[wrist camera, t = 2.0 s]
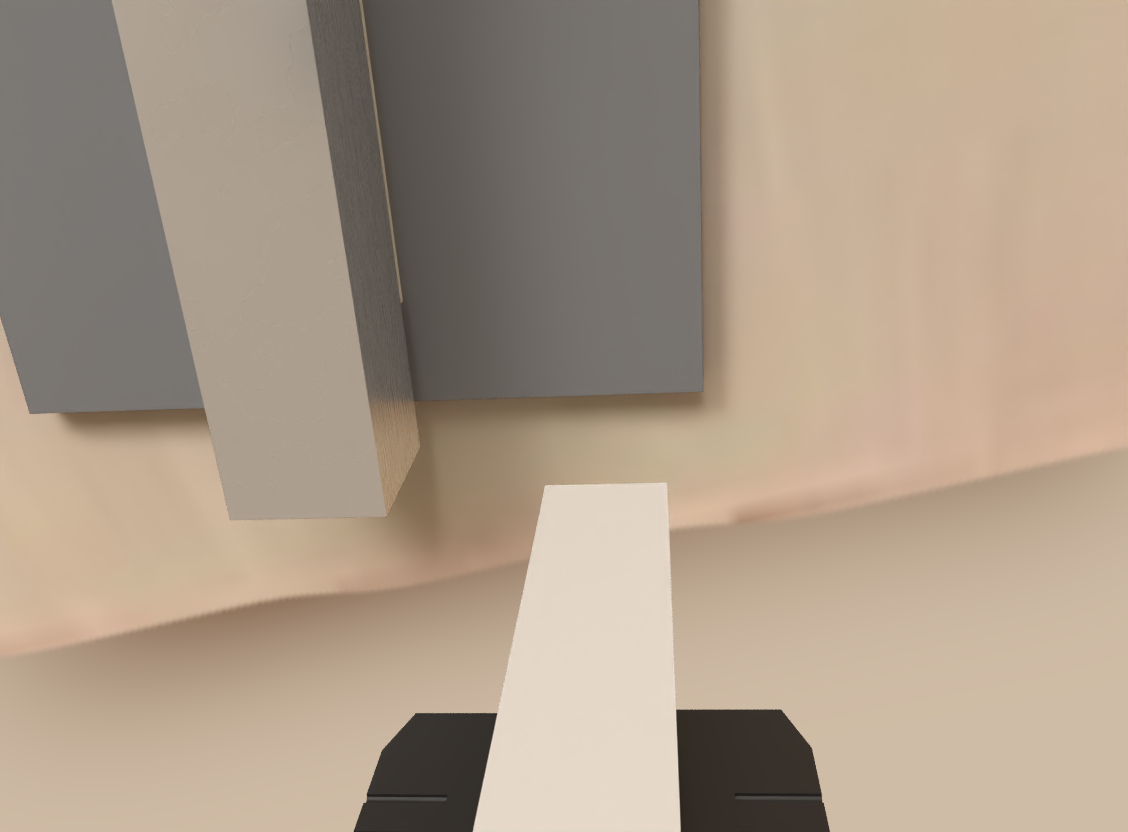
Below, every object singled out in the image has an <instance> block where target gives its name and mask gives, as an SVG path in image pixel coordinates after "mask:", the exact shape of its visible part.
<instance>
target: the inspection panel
mask: <svg viewBox="0 0 1128 832" xmlns="http://www.w3.org/2000/svg"><path fill="white" fill-rule="evenodd" d="M359 2H360V10H361V17H362V24H363V32H364V39H365V46H366V54H367V61H368V68H369V76H370V83H371V90H372V98H373V105H374V112H375V120H376V127H377V134H378V142H379V149H380V156H381V163H382V171H383V178H384V185H385V193H386V200H387V207H388V215H389V222H390V229H391V237H392V244H393V251H394V259H395V266H396V273H397V281H398V288H399V295H400V303H401V310H402V317H403V325H404V332H405V339H406V347H407V354H408V361H409V369H410V376H411V383H412V391H413V398H414V401H436V400H466V399H497V398H527V397H558V396H588V395H619V394H649V393H679V392H703V339H702V252H701V164H700V76H699V0H359ZM0 317H1V320H2V324H3V327H4V330H5V333H6V337H7V340H8V343H9V347H10V350H11V353H12V356H13V360H14V363H15V366H16V370H17V373H18V376H19V379H20V383H21V386H22V389H23V393H24V396H25V399H26V402H27V406H28V409H29V412H30V414H40V413H71V412H101V411H132V410H162V409H192V408H204V404H203V399H202V395H201V391H200V386H199V382H198V377H197V373H196V369H195V364H194V360H193V356H192V351H191V347H190V342H189V338H188V334H187V329H186V325H185V320H184V316H183V312H182V307H181V303H180V298H179V294H178V290H177V285H176V281H175V277H174V272H173V268H172V263H171V259H170V255H169V250H168V246H167V241H166V237H165V233H164V228H163V224H162V219H161V215H160V211H159V206H158V202H157V198H156V193H155V189H154V184H153V180H152V176H151V171H150V167H149V162H148V158H147V154H146V149H145V145H144V140H143V136H142V132H141V127H140V123H139V119H138V114H137V110H136V105H135V101H134V97H133V92H132V88H131V83H130V79H129V75H128V70H127V66H126V61H125V57H124V53H123V48H122V44H121V40H120V35H119V31H118V26H117V22H116V18H115V13H114V9H113V4H112V0H0Z"/></svg>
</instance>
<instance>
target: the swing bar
mask: <svg viewBox="0 0 1128 832" xmlns="http://www.w3.org/2000/svg"><path fill="white" fill-rule="evenodd" d="M112 4H113V9H114V13H115V18H116V22H117V26H118V31H119V35H120V40H121V44H122V48H123V53H124V57H125V61H126V66H127V70H128V75H129V79H130V83H131V88H132V92H133V97H134V101H135V105H136V110H137V114H138V119H139V123H140V127H141V132H142V136H143V140H144V145H145V149H146V154H147V158H148V162H149V167H150V171H151V176H152V180H153V184H154V189H155V193H156V198H157V202H158V206H159V211H160V215H161V219H162V224H163V228H164V233H165V237H166V241H167V246H168V250H169V255H170V259H171V263H172V268H173V272H174V277H175V281H176V285H177V290H178V294H179V298H180V303H181V307H182V312H183V316H184V320H185V325H186V329H187V334H188V338H189V342H190V347H191V351H192V356H193V360H194V364H195V369H196V373H197V377H198V382H199V386H200V391H201V395H202V399H203V404H204V408H205V413H206V417H207V421H208V426H209V430H210V435H211V439H212V443H213V448H214V452H215V456H216V461H217V465H218V470H219V474H220V478H221V483H222V487H223V492H224V496H225V500H226V505H227V509H228V514H229V518H230V520H264V519H310V518H356V517H387V515H388V513H389V511H390V509H391V507H392V505H393V503H394V500H395V498H396V496H397V494H398V492H399V490H400V488H401V486H402V484H403V482H404V480H405V478H406V476H407V474H408V471H409V469H410V467H411V465H412V463H413V461H414V459H415V457H416V455H417V453H418V451H419V449H420V442H419V434H418V427H417V420H416V412H415V405H414V398H413V391H412V383H411V376H410V369H409V361H408V354H407V347H406V339H405V332H404V325H403V317H402V310H401V303H400V295H399V288H398V281H397V273H396V266H395V259H394V251H393V244H392V237H391V229H390V222H389V215H388V207H387V200H386V193H385V185H384V178H383V171H382V163H381V156H380V149H379V142H378V134H377V127H376V120H375V112H374V105H373V98H372V90H371V83H370V76H369V68H368V61H367V54H366V46H365V39H364V32H363V24H362V17H361V10H360V2H359V0H112Z"/></svg>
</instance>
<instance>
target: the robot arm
mask: <svg viewBox="0 0 1128 832" xmlns="http://www.w3.org/2000/svg"><path fill="white" fill-rule="evenodd" d="M354 832H830V830H829V826H828V821H827V816H826V812H825V807H824V803H822V793H821V789H820V784H819V780H818V775H817V770H816V765H815V761H814V756H813V752H812V748H811V747H810V745H809V744H808V743H807V742H806V740H805V739H804V738H803V736H802V735H801V734H800V733H799V731H798V730H797V729H796V728H795V727H794V725H793V724H792V723H791V722H790V720H789V719H788V718H787V716H786V715H785V714H784V713H783V712H782V710H676V697H675V672H674V645H673V620H672V594H671V570H670V544H669V516H668V490H667V483H624V484H581V485H545V489H544V494H543V499H542V503H541V508H540V513H539V518H538V522H537V527H536V532H535V537H534V542H533V546H532V551H531V556H530V561H529V566H528V570H527V575H526V580H525V585H524V589H523V594H522V599H521V604H520V608H519V614H518V618H517V623H516V628H515V633H514V637H513V642H512V647H511V651H510V656H509V661H508V666H507V671H506V676H505V680H504V685H503V690H502V694H501V700H500V704H499V709H498V713H416V714H415V715H414V716H413V717H412V718H411V720H409V721H408V723H407V724H406V725H405V726H404V727H403V728H402V729H401V730H400V731H399V732H398V734H397V735H396V736H395V737H394V738H393V739H392V740H391V741H390V742H389V743H388V745H387V746H386V747H385V748H384V749H383V750H382V752H381V755H380V758H379V761H378V764H377V767H376V769H375V772H374V775H373V778H372V781H371V784H370V786H369V789H368V792H367V802H366V803H364V804H363V806H362V809H361V812H360V815H359V818H358V821H357V824H356V827H355V829H354Z"/></svg>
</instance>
